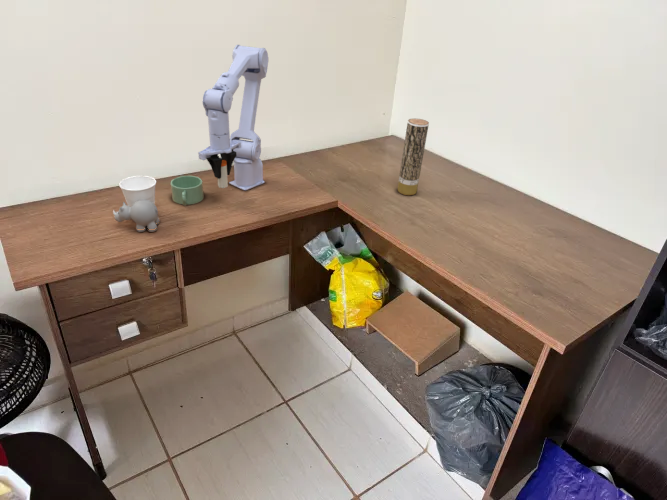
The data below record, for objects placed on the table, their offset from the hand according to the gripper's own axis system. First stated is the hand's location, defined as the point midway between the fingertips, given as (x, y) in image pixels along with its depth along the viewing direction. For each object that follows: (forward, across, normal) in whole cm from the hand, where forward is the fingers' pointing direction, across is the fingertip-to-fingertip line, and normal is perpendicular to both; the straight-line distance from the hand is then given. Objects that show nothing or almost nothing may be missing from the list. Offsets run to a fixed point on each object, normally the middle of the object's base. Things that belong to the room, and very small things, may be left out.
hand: (222, 175), depth 146 cm
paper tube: (+10, +51, -36) cm, 64 cm away
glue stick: (+3, 0, 0) cm, 3 cm away
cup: (+10, -21, +11) cm, 26 cm away
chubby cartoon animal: (+10, -26, +6) cm, 29 cm away
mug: (+10, -5, +11) cm, 16 cm away
